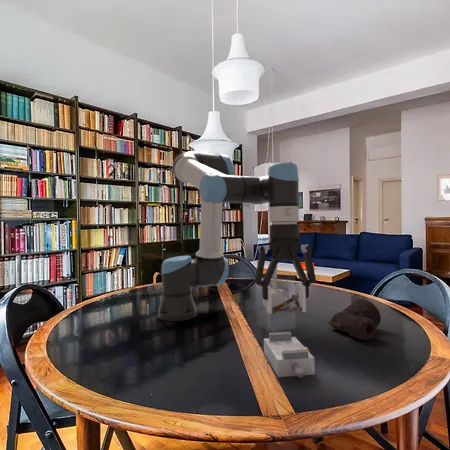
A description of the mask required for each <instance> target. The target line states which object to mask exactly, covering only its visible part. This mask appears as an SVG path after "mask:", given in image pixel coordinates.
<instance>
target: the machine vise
mask: <svg viewBox="0 0 450 450" xmlns="http://www.w3.org/2000/svg"><path fill="white" fill-rule="evenodd" d="M263 353H264V355H265V357H266V359H267V361H268V362H269V364H270V366H271V368H272V370H273V371H274V373H275V374H276V376H277V378H283V377H284V378H287V377H298V378H300V379H301V378H303V377H305V376H310V375H312V376H314V375H315V373H316V372H315V371H316V370H315V369H316V367H315V366H316V365H315V357H314V356H313V355H312V354H311V352H310V349H309V347H308V346H305V345H304V344H302V343H301V342H300V341H299V340H298V339H297V337H296V336H292V333H291V331H280V332H268V338H263Z"/></svg>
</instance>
